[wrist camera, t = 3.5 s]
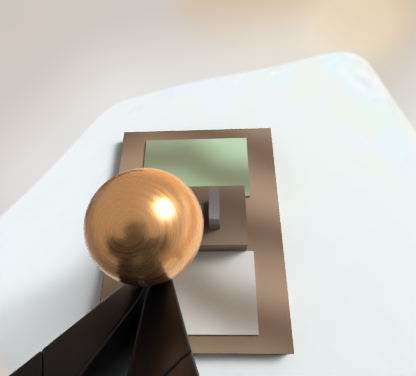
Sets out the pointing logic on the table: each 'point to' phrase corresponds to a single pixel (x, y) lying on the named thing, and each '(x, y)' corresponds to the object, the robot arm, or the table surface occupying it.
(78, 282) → the table surface
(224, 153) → the switch base
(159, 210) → the toggle lever
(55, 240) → the table surface
